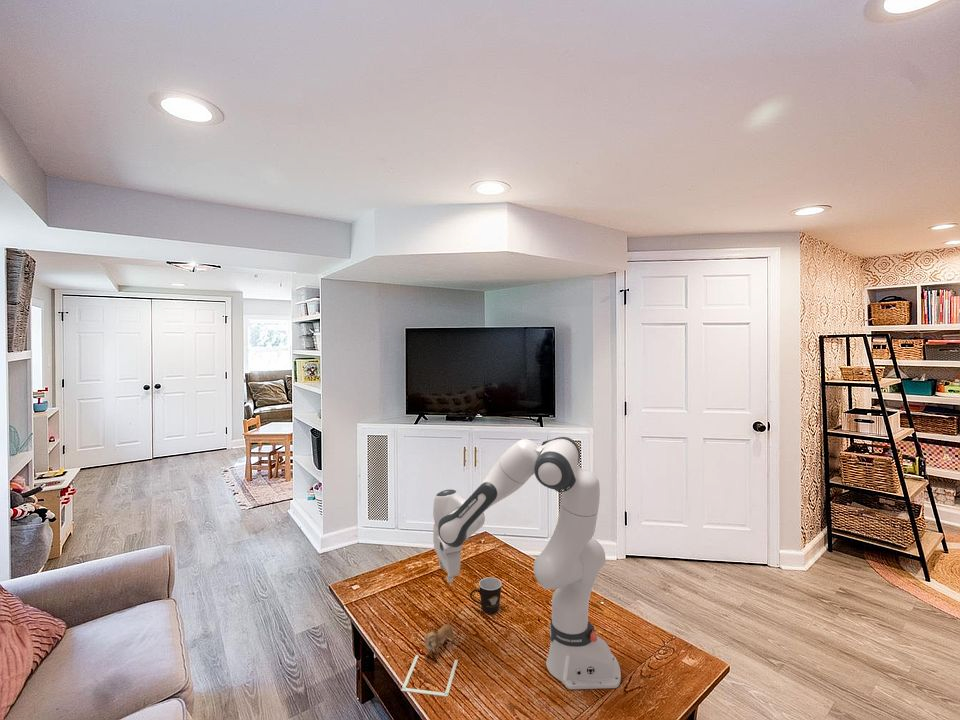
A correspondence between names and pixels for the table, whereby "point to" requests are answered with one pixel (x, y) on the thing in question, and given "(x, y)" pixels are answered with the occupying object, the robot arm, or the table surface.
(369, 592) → the table surface
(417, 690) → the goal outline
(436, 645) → the lion figurine
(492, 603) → the coffee mug
